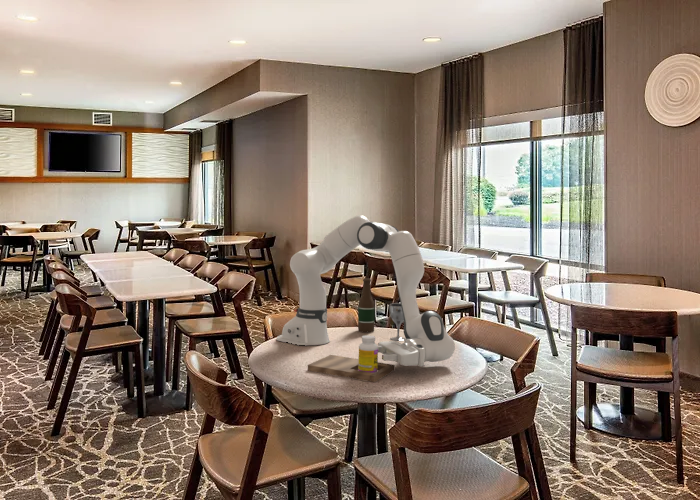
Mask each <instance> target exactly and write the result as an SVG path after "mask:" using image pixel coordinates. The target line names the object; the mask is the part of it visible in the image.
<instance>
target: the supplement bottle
mask: <svg viewBox="0 0 700 500" xmlns="http://www.w3.org/2000/svg"><path fill="white" fill-rule="evenodd" d="M375 341H376V336H374V335H368V334H367V335H362V336H361V343H360V344H359V345H358V359H359V362H358V370H359V371H365V372H371V373H375V372H377V368H378V361H379V357H378V356H379V353H378V345H377V343H375Z"/></svg>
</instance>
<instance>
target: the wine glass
mask: <svg viewBox="0 0 700 500" xmlns="http://www.w3.org/2000/svg"><path fill="white" fill-rule="evenodd" d="M389 315H390V318H391V319H392V321H393V322H394V324H395V326H396V329H397V331H396V332H397V333H396V334H397V335H396V336H394V337H393V336H392V337H390V338H389V340H390V341H396V342H405V340H406V338H405V337H401V336H400V328H401V325H402V324H403V323H404V317H403V312H402V308H401V303H400V302H393V303H390V304H389Z"/></svg>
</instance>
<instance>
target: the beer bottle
mask: <svg viewBox="0 0 700 500" xmlns="http://www.w3.org/2000/svg"><path fill="white" fill-rule="evenodd" d="M362 282H363V287H362V294H361V297H360V299H359V301H358V309H357V310H358V311H357V330H358V332H360V333H364V334H365V333H374V332H375V317H376V315H375V310H376V309H375V308H376V307H375V305H376V304H375V301H374V299H373V297H372V292H371V291H372V290H371V287H372V286H371V282H372V280H371V278H368V277H365V278H363V280H362Z"/></svg>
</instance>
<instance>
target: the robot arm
mask: <svg viewBox="0 0 700 500" xmlns="http://www.w3.org/2000/svg"><path fill="white" fill-rule="evenodd" d="M358 246H362V248H365V249H366V250H371V251H374V252H375V251H376V252H385V253H389V255H390V258H391V261H392V265H393V268H394V272H395V276H396V277H395V278H396V285H397V293H398V297H399V303H401V308H402V312H403V317H404V321H403V336H404V338H406V340H405V341H403V342H402V343H401V342H400V341H393V340H390V341H388V340H387V341H385V340H384V341H379V342H378V345H377V346H378V354H379V353H380V354H382V355H381V359H382V361H387V362H388V361H389V362H396V363H397V364H399V365H401V366H403V367H404V366H405V367H407V366H408V367H412V366H413V367H414V366H417V367H424V366H425V362H430V363H436V362H443V361H447V360H448V359H450V358H452V357H453V354H454V353H455V348H456V345H455V340H454V339H453V337H452V336H450V335H449V333H448V332H447V330H446V328H445V325H444V320H443V318H442V317H441V315H440V314H438V313H437V312H435V311H434V310H433V311H432V310H426V311H425V312H423V313H420V309H419V304H418V300H417V289H418V287H419V284H420V281H421V280H422V279H423V277H424V274H425V263H424V260H423V257H422V253H421V250H420V248H419V246H418V243H417V241H416V240H415V238H414V236H413V234H412V233H411V232H410V231H407V230H399V229H398V228H397V227H395V226H394V225H390V224H387V223H384V222H376V221H370V220H369V219H368V217H366V216H364V215H363V214H362V215H361V214H358V215H355V216H353V217H351V218H349V219H346V221H344V222H343V223H341V224H339V225H338V226H337V227H336V228H334V229H333V230H332V231H330V232H329V233H328V234H326V235H325V237H324V239H323V240H322V241H321V243H320V244H318V245H317V246H314V247H313V248H308V249H301V250H299V251H298V252H295V254H293V255H292V256H291V258H290V261H289V267H290V270H291V271H292V273H293V274H294V275H295V277H296V281H297V284H298V291H299V307H298V308H296V309H295V310H294V313H295V316H293V317H292V319H290V320H288V322H286V323H285V324H284V325H283V328H282V332H281V334H279V335H277V337H276V341H279V342H283V343H286V342H288V343H287V344H291V343H292V344H291V345H295V344H297V345H296V346H299V345H305V346H317V345H318V346H319V345H325V344H328V343H329V342H330V337H329V332H328V326H327V324H328V323H327V319H328V308H327V289H326V287H325V286H324V284H323V281H322V278H321V275H322V274H326V273H328V272H329V271H330V270H332V269H333V268H334V267H335V265H336V264H338V263H339V261H340V260H341V259H343V258H344V257H345V256H346V255H348V254H349V253H351V251H353V250H355V249H356V248H357V247H358Z"/></svg>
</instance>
